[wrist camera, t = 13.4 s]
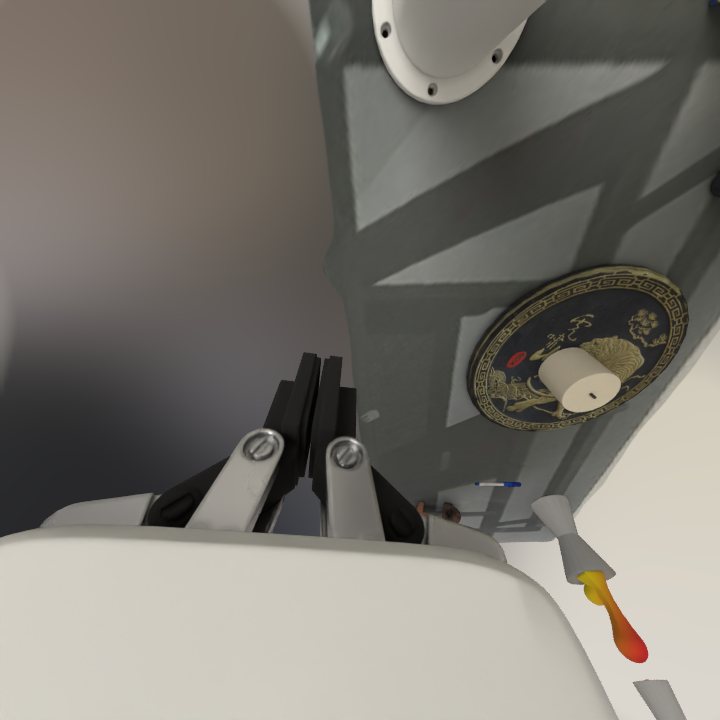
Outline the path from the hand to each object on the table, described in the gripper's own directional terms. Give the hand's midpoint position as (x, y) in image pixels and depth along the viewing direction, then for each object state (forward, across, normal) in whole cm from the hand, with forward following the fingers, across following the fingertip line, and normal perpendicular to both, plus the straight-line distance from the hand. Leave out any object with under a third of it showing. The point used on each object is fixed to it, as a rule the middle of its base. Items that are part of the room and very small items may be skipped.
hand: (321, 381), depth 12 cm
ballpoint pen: (+26, -41, +46) cm, 67 cm away
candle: (+23, -34, +12) cm, 43 cm away
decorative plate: (+25, -36, +12) cm, 45 cm away
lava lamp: (+25, -58, +53) cm, 83 cm away
